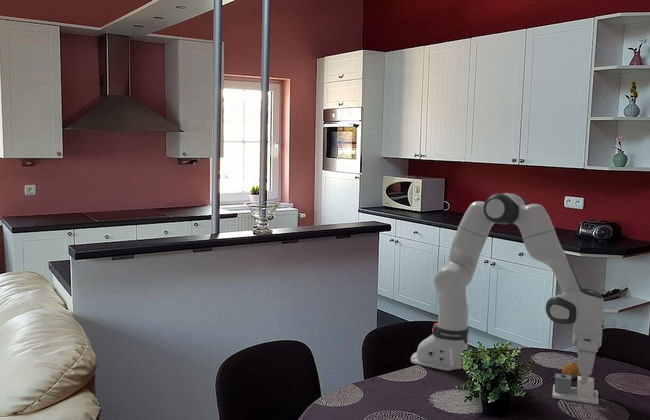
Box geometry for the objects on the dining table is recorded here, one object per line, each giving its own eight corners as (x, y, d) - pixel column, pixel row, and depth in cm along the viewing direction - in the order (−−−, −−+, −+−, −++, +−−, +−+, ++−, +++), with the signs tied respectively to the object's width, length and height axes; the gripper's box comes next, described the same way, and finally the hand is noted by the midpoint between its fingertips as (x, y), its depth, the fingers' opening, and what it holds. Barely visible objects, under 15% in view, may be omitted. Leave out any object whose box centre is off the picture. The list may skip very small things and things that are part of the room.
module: (576, 395, 204) (577, 378, 204) (576, 390, 208) (577, 373, 208) (593, 397, 202) (594, 380, 202) (593, 393, 206) (594, 376, 206)
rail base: (552, 397, 204) (553, 378, 204) (553, 387, 214) (554, 368, 213) (598, 404, 199) (599, 384, 199) (597, 393, 208) (598, 374, 208)
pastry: (577, 381, 220) (578, 370, 220) (558, 377, 224) (558, 367, 223) (582, 373, 228) (583, 363, 227) (563, 370, 231) (564, 360, 231)
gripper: (576, 328, 214) (573, 367, 216) (576, 345, 195) (573, 388, 197) (596, 331, 212) (593, 370, 213) (598, 349, 193) (594, 391, 194)
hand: (583, 379), depth 205 cm, fingers open, 8 cm apart
